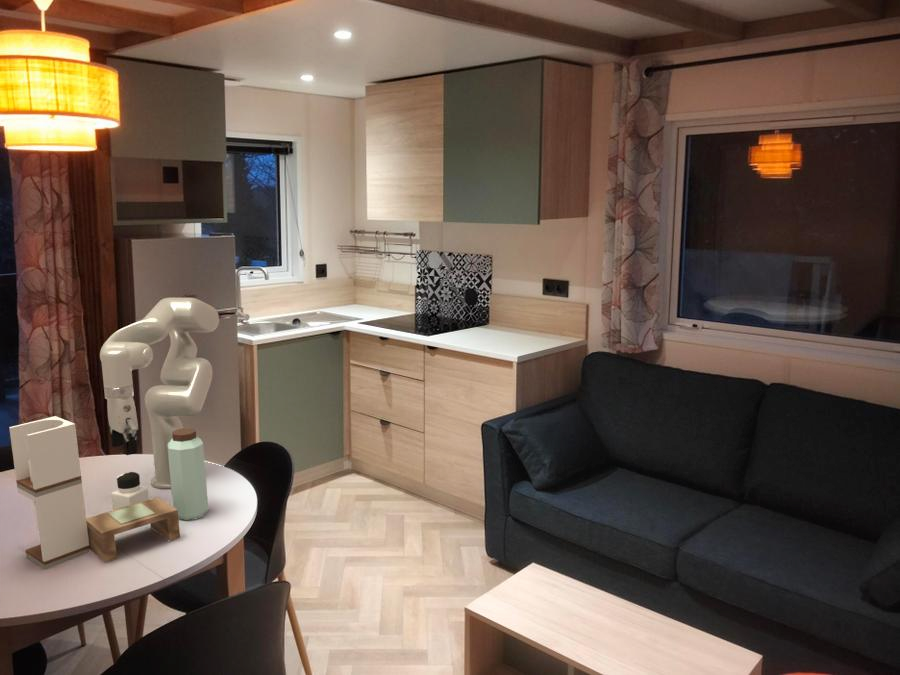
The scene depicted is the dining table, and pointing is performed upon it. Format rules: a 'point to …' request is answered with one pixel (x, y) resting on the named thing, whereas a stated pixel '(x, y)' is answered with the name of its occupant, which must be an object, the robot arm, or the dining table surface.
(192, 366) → the robot arm
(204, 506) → the water bottle
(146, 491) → the medicine bottle
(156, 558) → the dining table surface
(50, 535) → the white tower
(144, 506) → the bench shelf
